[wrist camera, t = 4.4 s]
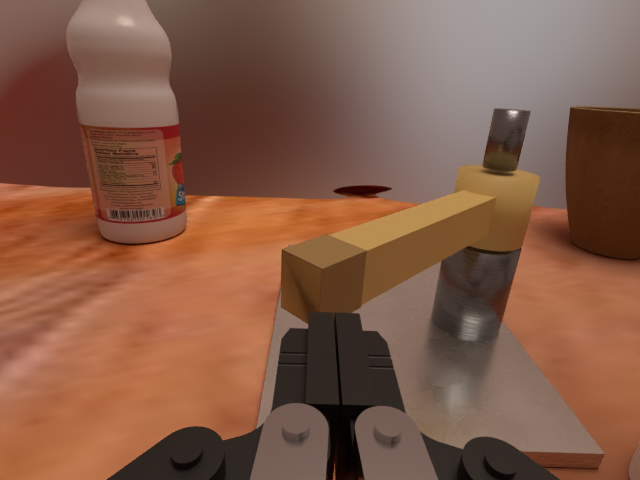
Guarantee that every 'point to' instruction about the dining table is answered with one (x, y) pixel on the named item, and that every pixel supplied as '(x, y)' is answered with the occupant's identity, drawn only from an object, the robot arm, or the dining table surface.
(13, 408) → the dining table surface
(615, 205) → the plant pot
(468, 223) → the lever handle
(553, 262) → the dining table surface
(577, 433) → the square base plate stand
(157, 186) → the fruit juice
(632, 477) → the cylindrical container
